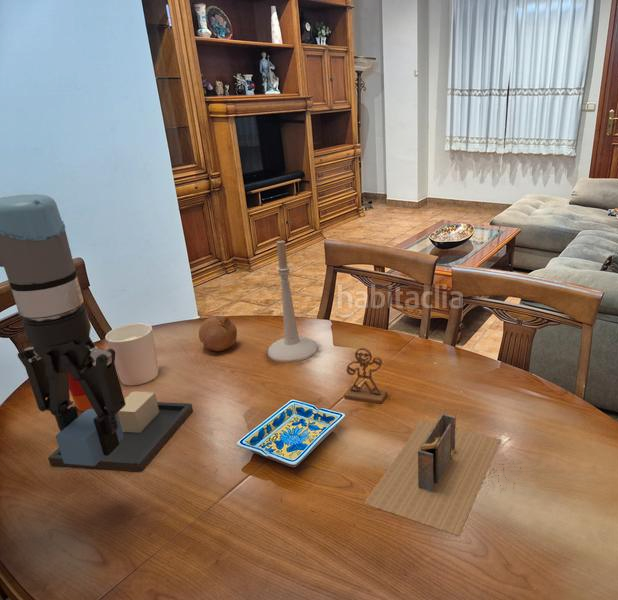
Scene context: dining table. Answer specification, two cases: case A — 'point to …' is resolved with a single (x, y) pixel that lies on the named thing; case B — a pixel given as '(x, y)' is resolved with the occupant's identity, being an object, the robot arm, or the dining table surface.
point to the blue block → (83, 440)
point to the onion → (217, 333)
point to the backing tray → (139, 441)
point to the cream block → (138, 411)
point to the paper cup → (79, 395)
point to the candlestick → (289, 321)
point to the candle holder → (134, 353)
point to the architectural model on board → (436, 475)
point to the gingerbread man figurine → (365, 393)
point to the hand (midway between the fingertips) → (94, 448)
